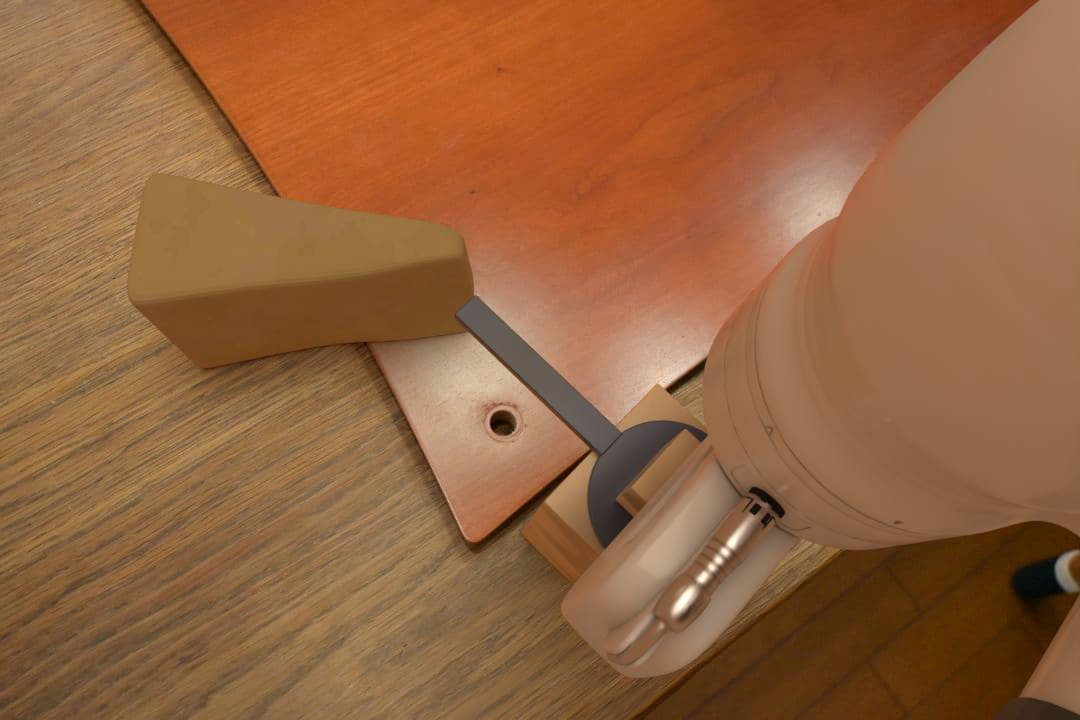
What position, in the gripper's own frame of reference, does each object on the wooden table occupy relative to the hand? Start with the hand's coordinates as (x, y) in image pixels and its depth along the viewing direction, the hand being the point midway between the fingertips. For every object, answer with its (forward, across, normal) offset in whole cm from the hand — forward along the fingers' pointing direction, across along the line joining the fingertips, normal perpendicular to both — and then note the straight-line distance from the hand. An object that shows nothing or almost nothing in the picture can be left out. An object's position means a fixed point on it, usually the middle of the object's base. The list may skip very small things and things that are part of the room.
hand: (715, 472), depth 36 cm
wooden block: (+8, 0, 0) cm, 9 cm away
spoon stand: (+27, 0, +6) cm, 28 cm away
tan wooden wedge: (+27, -3, +28) cm, 39 cm away
